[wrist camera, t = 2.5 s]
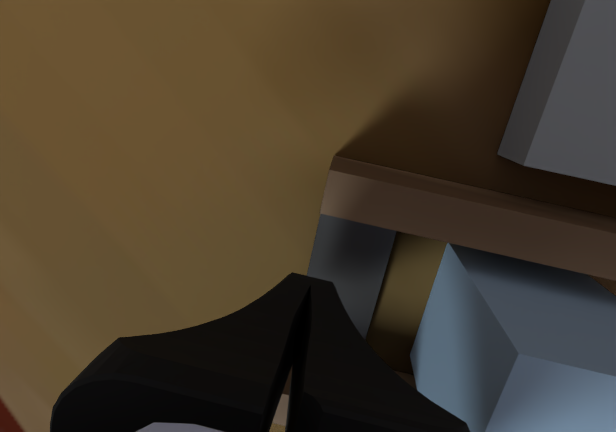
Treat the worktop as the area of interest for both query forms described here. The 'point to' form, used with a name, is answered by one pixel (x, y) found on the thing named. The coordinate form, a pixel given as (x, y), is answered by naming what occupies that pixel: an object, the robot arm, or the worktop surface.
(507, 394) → the block
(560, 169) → the stand
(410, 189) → the channel
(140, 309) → the worktop surface
